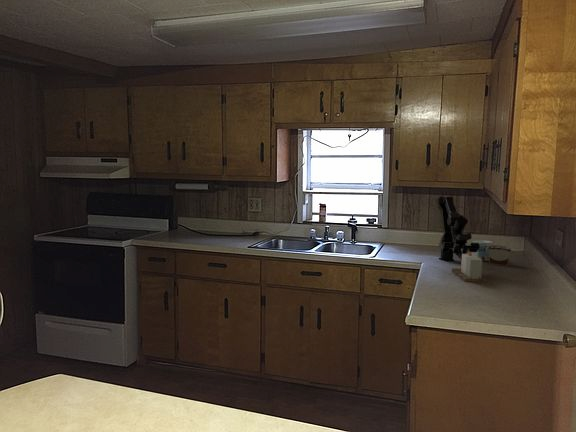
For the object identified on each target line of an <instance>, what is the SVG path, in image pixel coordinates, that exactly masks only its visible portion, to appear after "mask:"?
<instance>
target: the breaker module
mask: <svg viewBox="0 0 576 432" xmlns="http://www.w3.org/2000/svg"><path fill="white" fill-rule="evenodd" d="M467 257H477V256H475V255H473V254H472V253H471V252H467V253H465V254H462V261H460V263H461V265H460V267H461V272H462V273H464V274H466V259H467Z"/></svg>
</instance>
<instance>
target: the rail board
mask: <svg viewBox="0 0 576 432" xmlns="http://www.w3.org/2000/svg"><path fill="white" fill-rule="evenodd" d="M451 272H452V273H453V274H455V275H456V276H457V277H459V279H461V280H462V281H463V282H467V283H468V282H471V283H473V282H474V283H475V282H476V283H479V282H480V283H486V280H487V278H485V277H484V276H482V275H481V278H479V277H471V278H469V277H468V276H466V275H465V274H464V273H462V272H461V266H458V267H452V268H451Z"/></svg>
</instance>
